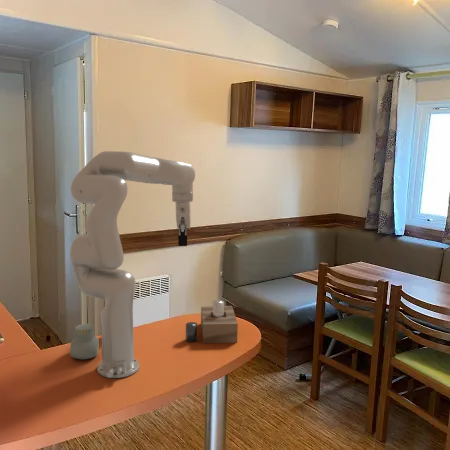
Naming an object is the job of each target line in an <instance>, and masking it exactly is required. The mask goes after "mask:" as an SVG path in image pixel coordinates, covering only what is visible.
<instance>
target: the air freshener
mask: <svg viewBox="0 0 450 450" xmlns="http://www.w3.org/2000/svg"><path fill="white" fill-rule="evenodd" d="M94 329H95V328H94V325H93V324H91V323H81V324H78V325H76V326H75V327H74V338H72V340H71V341H70V347H69V354H70V357H72V358H73V359H77V360H88V359H92V358H94V357H96V356H97V355H99V351H100V350H99V348H100V339H99V338H98V337H97V336H95V333H94V332H95V331H94Z"/></svg>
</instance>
